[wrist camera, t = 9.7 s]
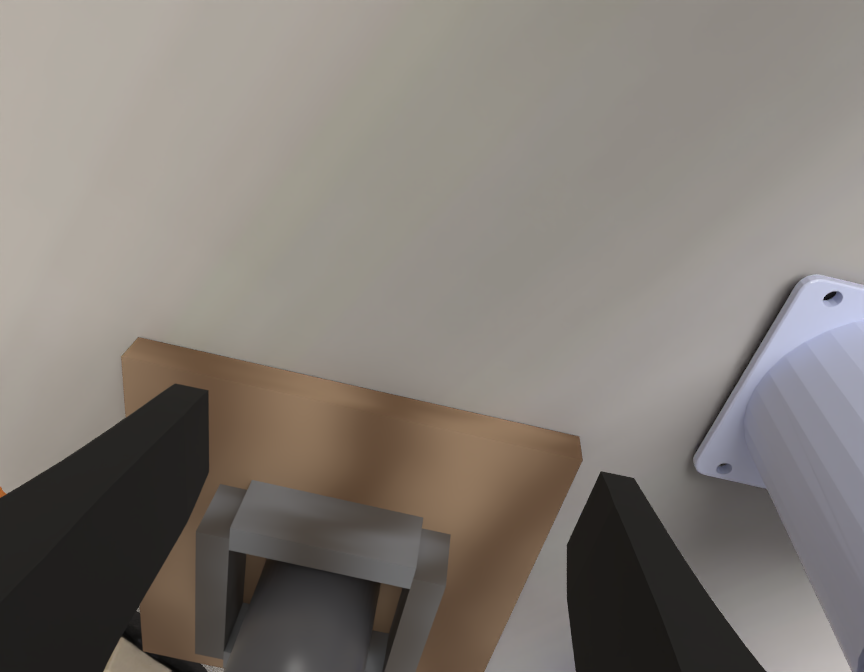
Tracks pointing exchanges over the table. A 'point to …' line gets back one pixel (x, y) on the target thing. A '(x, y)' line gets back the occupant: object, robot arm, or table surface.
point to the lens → (305, 622)
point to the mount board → (351, 509)
